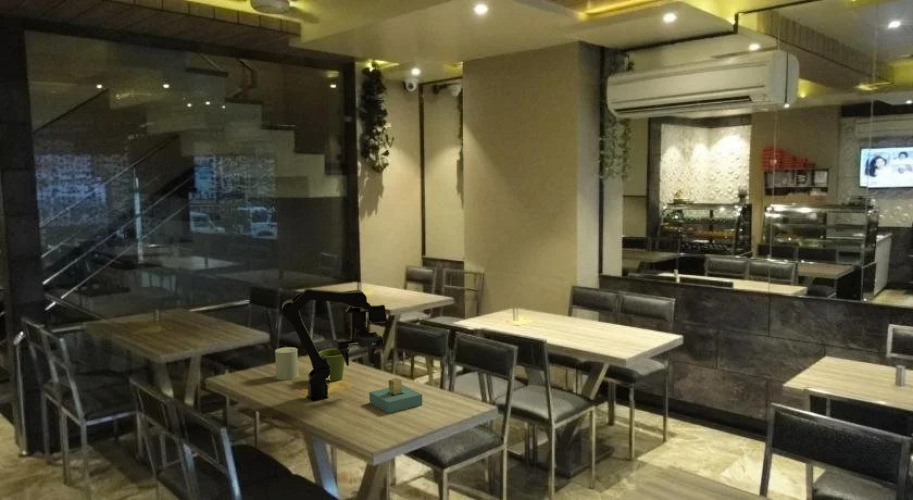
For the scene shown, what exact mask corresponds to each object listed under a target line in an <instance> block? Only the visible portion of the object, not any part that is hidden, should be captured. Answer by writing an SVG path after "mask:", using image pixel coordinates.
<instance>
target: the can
mask: <svg viewBox="0 0 913 500" xmlns="http://www.w3.org/2000/svg"><path fill="white" fill-rule="evenodd" d="M298 350H299V349H298V348H296V347H293V346H292V347H291V346H289V347H288V346H285V347H281V348H277V349H275V350H274V354H275V379H277V380H280V381H289V380H294V379H297V378H298V377H299V376H300V375H299V361H298Z"/></svg>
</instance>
